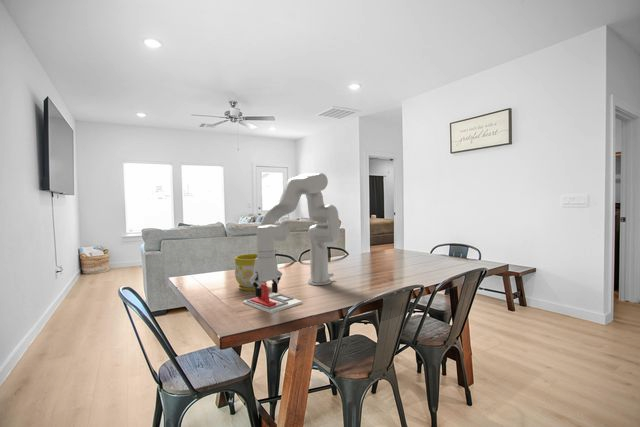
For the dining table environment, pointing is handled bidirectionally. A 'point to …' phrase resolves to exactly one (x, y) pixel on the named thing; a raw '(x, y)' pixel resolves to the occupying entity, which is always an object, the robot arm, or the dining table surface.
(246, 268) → the flowerpot
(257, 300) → the bracket
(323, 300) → the dining table surface
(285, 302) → the fitting board
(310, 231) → the robot arm
